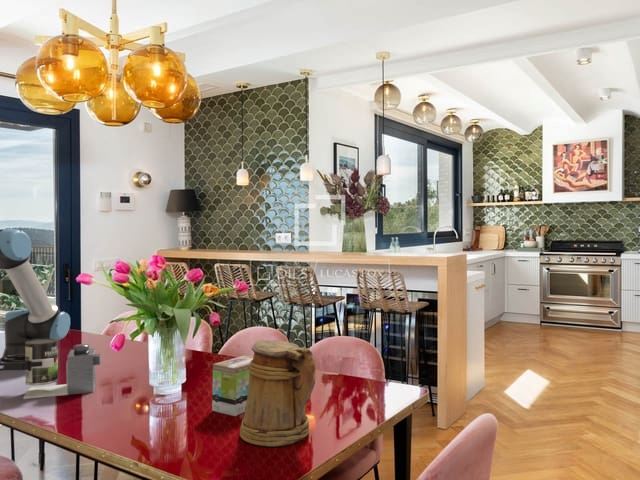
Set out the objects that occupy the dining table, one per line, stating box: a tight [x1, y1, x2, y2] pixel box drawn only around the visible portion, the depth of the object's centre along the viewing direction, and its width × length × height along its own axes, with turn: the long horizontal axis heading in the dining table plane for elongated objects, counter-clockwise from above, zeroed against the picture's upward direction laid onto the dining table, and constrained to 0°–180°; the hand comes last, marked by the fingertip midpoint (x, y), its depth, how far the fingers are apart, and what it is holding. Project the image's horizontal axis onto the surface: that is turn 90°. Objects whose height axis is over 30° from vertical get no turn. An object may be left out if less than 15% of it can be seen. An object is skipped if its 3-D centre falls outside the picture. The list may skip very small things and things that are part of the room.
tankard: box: [239, 339, 317, 448], centre depth 144 cm, size 18×24×25 cm
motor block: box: [65, 343, 101, 396], centre depth 191 cm, size 12×10×15 cm
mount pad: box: [23, 383, 68, 400], centre depth 187 cm, size 12×14×1 cm
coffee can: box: [24, 339, 59, 386], centre depth 186 cm, size 10×10×14 cm
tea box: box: [211, 355, 254, 417], centre depth 169 cm, size 15×10×15 cm, turn 148°
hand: (55, 359), depth 188 cm, fingers closed on coffee can, 10 cm apart
